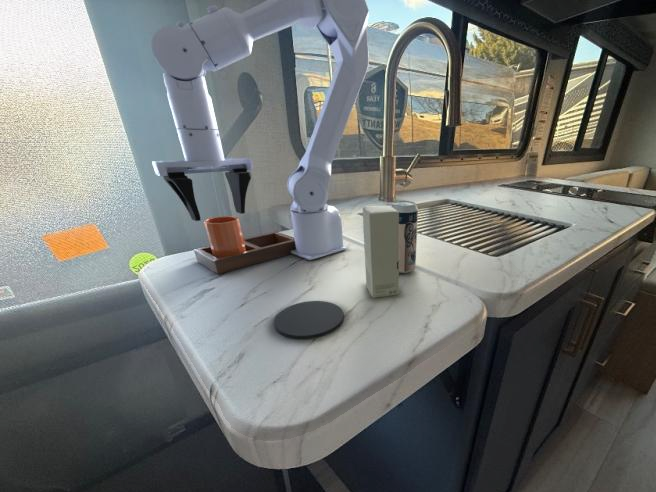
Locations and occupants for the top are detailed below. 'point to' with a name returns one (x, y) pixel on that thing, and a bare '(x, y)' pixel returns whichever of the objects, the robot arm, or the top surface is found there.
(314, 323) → the coaster
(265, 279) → the top surface
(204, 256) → the cup holder
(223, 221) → the cup
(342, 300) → the top surface
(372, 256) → the box
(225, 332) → the top surface
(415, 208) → the beer can
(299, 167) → the robot arm
